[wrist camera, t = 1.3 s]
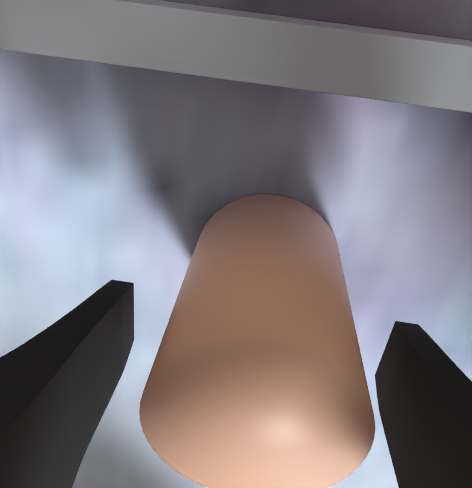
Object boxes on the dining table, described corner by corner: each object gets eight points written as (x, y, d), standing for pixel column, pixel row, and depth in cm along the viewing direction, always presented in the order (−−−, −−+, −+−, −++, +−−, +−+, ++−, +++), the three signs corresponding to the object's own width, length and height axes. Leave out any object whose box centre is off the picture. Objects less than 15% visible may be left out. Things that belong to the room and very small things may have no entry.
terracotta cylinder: (354, 205, 14) (407, 362, 8) (321, 324, 17) (343, 513, 10) (201, 184, 14) (139, 322, 8) (192, 304, 17) (139, 479, 11)
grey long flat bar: (691, 68, 11) (842, 94, 8) (664, 115, 12) (794, 155, 9) (-57, -28, 12) (-175, -38, 9) (-48, 21, 12) (-155, 28, 9)
